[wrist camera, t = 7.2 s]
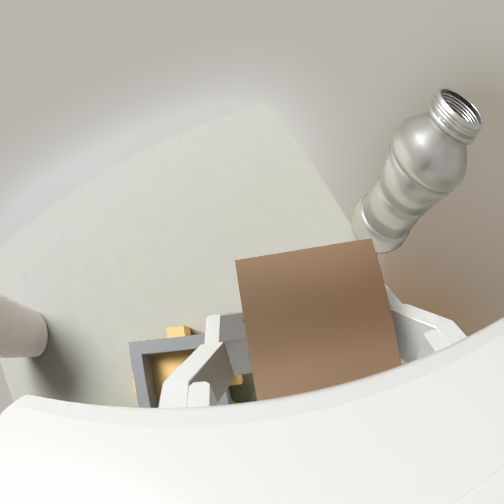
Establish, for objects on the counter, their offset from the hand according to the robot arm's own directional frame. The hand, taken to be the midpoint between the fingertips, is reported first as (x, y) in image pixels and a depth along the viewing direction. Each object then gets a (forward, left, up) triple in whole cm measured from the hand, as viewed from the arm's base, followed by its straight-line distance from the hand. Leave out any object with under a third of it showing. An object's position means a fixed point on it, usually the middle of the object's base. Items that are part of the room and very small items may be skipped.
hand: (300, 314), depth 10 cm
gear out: (-1, +10, -17) cm, 20 cm away
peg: (-1, 0, -5) cm, 5 cm away
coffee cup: (+10, +31, -18) cm, 37 cm away
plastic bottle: (+6, -15, -18) cm, 24 cm away
